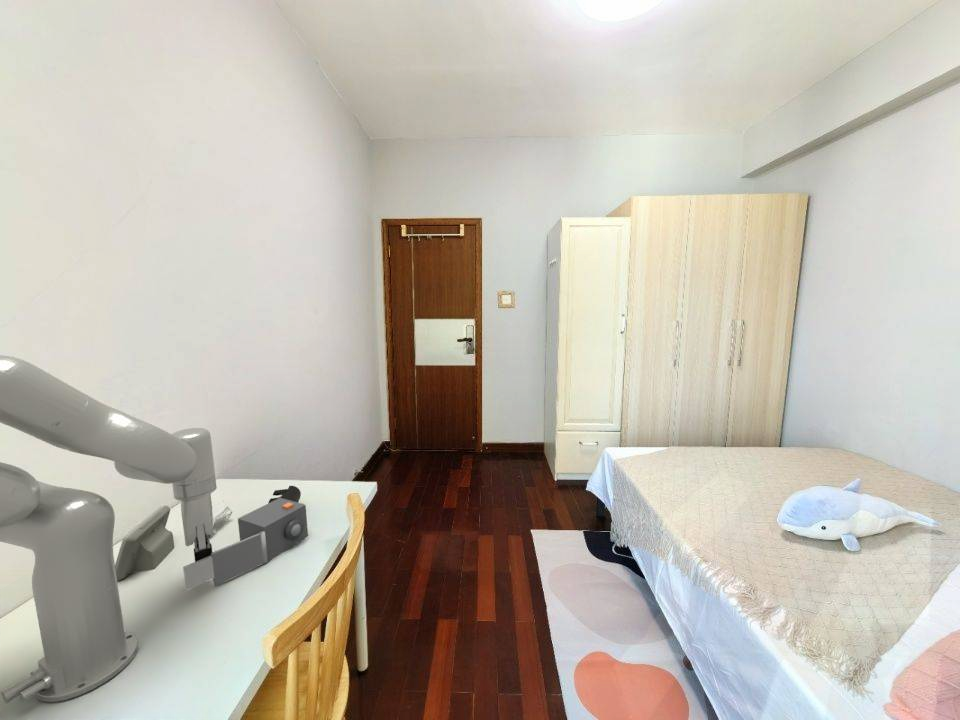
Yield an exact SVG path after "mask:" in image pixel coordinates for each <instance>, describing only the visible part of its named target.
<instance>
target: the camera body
mask: <svg viewBox="0 0 960 720" xmlns="http://www.w3.org/2000/svg"><path fill="white" fill-rule="evenodd" d="M277 498H278V497H277ZM237 522H238V523H237V524H238V533H239V541H241V540H244V539H246V538H249V537H251V536H253V535H256V534H258V533H260V532H262V531H265V538H266V549H267V560H268V561H267V562H266V563H268V562H270V561H271V560H273V559H274V558H276V557H278V556H279V555H281V554H282V553H284V552H285V551H287V550H288V549H290V548H292V547H293V546H295V545H296V544H298V543H300V542H301V541H303V540H304V539H306V538H307V537H308V536H309V531H308V519H307V507H306V504H305V503H301V502H298V503H297V502H294V501H290V500H286V499H283V498H278V499H276V500H274V501H272V502H270V503H268V502H267V504H265V505H263V506H260V507H258V508H256V509H254V510H252V511H251V512H248V513H246V514H244V515H242V516H241V517H237Z"/></svg>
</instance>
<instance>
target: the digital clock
mask: <svg viewBox="0 0 960 720" xmlns="http://www.w3.org/2000/svg"><path fill="white" fill-rule="evenodd" d="M170 513H171V508H170V506H168V505H164V506H163V505H162V506H159V507H158V508H157V509H156V510H155V511H154V512H152V513H151V514H150V515H149V516H147V517H146V518H145V519H143V521H141V522H140V523H139V524H137V525H136V527H134V528H133V529H132V530H131V531H129V532H128V533H127V534H126V535H125V536H124V537H123V538H122V542H121V543H120V546H119V551H118V554H117V557H116V561H115V562H114V563H115V570H116V577H117V581H121V580H123V579H125V578H127V576H129V574H130V573H136V572H137V573H138V572H143V571H144V572H145V571H152V570H155V569H156V568H157V566H159V565H160V563H161V562H162V561H163V560H164V559H165V558H166V557H167V556H168V555H169V554H170V553H171V551H172V550H173V549H174V548H175V542H174V540H175V539H174V535H173V532H172V531H171V530H168V529H167V528H166V527H167V523H168V519H169V516H170Z"/></svg>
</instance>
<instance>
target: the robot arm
mask: <svg viewBox="0 0 960 720" xmlns="http://www.w3.org/2000/svg"><path fill="white" fill-rule="evenodd" d="M0 424H3V425H5V426H8V427H10V428H13V429H15V430H18V431H19V432H22V433H24V434H26V435H29V436H31V437H34V438H35V439H38V440H40V441H41V442H42V441H43V442H44V443H47V444H49V445H51V446H54V447H56V448H59V449H62V450H64V451H65V450H66V451H68V452H71V453H76V454H81V455H85V456H91V457H95V458H101V459H105V460H108V461H112V462H114V463H113V464H114V469H115V470H116V472H117V473H118V474H119V475H120V476H123V477H124V478H128V479H133V480H138V481H144V482H145V481H146V482H154V483H159V484H169V485H171V484H172V485H171V486H172V491H173V498H174V500H175V501H179V502H180V511H181V519H182V527H183V533H184V543H185V546H186V547H190V546H192V545H194V548H193V553H194V554H193V555H194V556H193V557H194V562H196V561H199V560H201V559H203V558H206V557H208V556H211V553H212V552H213V545H212V542H210V540H212V539H213V537H214V534H213V532H214V531H213V530H214V525H213V513H212V507H213V505H212V503H213V502H212V493H214V492H215V491H216V490H217V488H218V487H217V479H216V473H215V472H216V470H215V463H214V453H213V444H212V437H211V433H210V430H208V429H207V428H204V427H192V428H190V427H189V428H186V429H181V430H178V431H175V432H173V433H170V432H168V431H167V430H164V429H162V428H161V427H157V426H156V425H153V424H152V423H149V422H146V421H144V420H142V419H139V418H136V417H135V416H132V415H130V414H127V413H125V412H124V411H121V410H119V409H117V408H114V407H112V406H110V405H107V404H104V403H103V402H100V401H99V400H97V399H95V398H93V397H92V396H89V395H88V394H86V393H84V392H82V391H81V390H78V389H77V388H75V387H73V386H72V385H70V384H68V383H67V382H64V381H63V380H61V379H59V378H57V377H56V376H54V375H53V374H51V373H50V372H47V371H45V370H44V369H42V368H40V367H38V366H37V365H35V364H32V363H31V362H29V361H26V360H24V359H22V358H18V357H14V356H9V355H3V354H2V355H1V354H0ZM115 520H116V516H115V510H114V508H113V506H112V504H111V503H110V502H109V500H108V499H106V498H105V497H104V496H102V495H100V494H98V493H96V492H93V491H90V490H89V491H88V490H83V489H78V488H77V489H76V488H70V487H63V486H56V485H53V484H48V483H45V482H43V481H39V480H37V479H36V478H35V476H33V475H32V474H30V472H28V471H26V470H25V469H22V468H20V467H17V466H16V465H13V464H9V463H5V462H0V542H1V543H4V544H8V545H12V546H17V547H21V548H24V549H28V550H30V551H32V552H33V553H34V565H33V571H32V577H31V588H32V594H33V595H32V597H33V601H34V605H35V611H36V616H37V622H38V627H39V631H40V634H39V635H40V639H41V644H42V651H43V656H44V657H42V658H41V659H39V660H37V664H38V665H37V666H38V668H36V669H35V670H33V671H31V672H30V675H28V676H26V677H24V678H23V679H20V680H19V681H17V682H15V683H13V684H12V685H10V686H8V687H6V688H5V689H3V690H2V691H0V695H1V698H2V700H3V702H4V704H7V703H9V702H10V701H12V700H14V699H15V698H17V697H19V696H20V698H21V701H22V702H25V701H26V700H28V699H30V698H32V697H33V696H36V698H37V699H38V700H40V701H42V702H45V703H48V702H49V703H51V702H52V703H55V702H56V703H57V702H62V701H66V700H70V699H73V697H74V698H75V697H79V696H82V695H83V694H86V693H88V692H90V691H92V690H95V689H96V688H97V687H100V686H101V685H103V684H104V683H106V682H109V680H111V679H113V677H115V676H116V675H117V674H119V673H121V671H123V669H124V668H126V666H128V664H130V662H131V661H132V660H133V659H134V657H135V656H136V654H137V652H138V649H139V640H138V637H137V635H136V634H135V633H133V632H128V631H125V626H124V619H123V613H122V606H121V598H120V591H119V584H118V580H117V577H116V570H115V563H116V562H115V556H114V542H113V541H114V532H115V531H114V530H115V523H116V521H115Z"/></svg>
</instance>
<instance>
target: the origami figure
mask: <svg viewBox="0 0 960 720" xmlns="http://www.w3.org/2000/svg"><path fill="white" fill-rule="evenodd" d="M228 512H230V514H229V515H227V514H228ZM233 512H234V511H233V510H232V509H231V507H229V506H228V505H227V504H226V503H225V501H224V500H223V501H221V502H219V503H218V504H216V505H214V506H213V505H212V513H213V526H214V525H215V522H216V520H217V519H218V518H220V517H221V516H222V515H223V517H228V518H227V520H226V521H227V522H228V523H230V518H231V516H232V514H233ZM215 533H216V529H213V535H214V534H215Z"/></svg>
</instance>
